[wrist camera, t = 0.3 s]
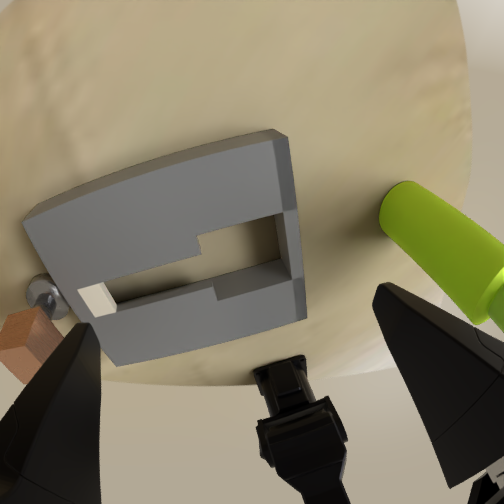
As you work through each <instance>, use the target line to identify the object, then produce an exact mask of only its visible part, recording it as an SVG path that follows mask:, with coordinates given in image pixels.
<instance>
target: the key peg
mask: <svg viewBox="0 0 504 504" xmlns="http://www.w3.org/2000/svg"><path fill="white" fill-rule="evenodd" d="M26 298H27V301H28V303H29V305H30V307H31V308H32V309H28V310H25V311H21V312H18V313H14V314H11V315H8V316H7V319H6V321H5V323H4V325H3V328H2V330H1V332H0V361H1V362H2V363H3V364H4V365H5V366H6V367H7V368H8V369H9V370H10V371H11V372H12V373H13V374H14V375H15V376H16V377H17V378H18V379H19V380H20V381H21V382H22V383H23V384H28V383H29V381H30V380H31V379H32V377H33V376H34V375H35V373H36V372H37V371H38V370H39V368H40V367H41V366H42V365H43V363H44V362H45V361H46V360H47V358H48V357H49V356H50V355H51V353H52V352H53V351H54V350H55V348H56V347H57V346H58V345H59V344H60V342H61V341H62V340H63V339H64V337H63V336H62V335H61V333H60V332H59V331H58V330H57V328H56V327H55V326H54V324H53V323H52V322H51V320H59V319H62V318H64V317H65V316H66V315H67V313H68V310H69V307H70V305H69V304H68V302H67V301H66V299H65V298H64V296H63V294H62V293H61V291H60V290H59V288H58V287H57V285H56V284H55V282H54V280H53V279H52V277H51V275H50V274H39V275H37V276H35V277H34V278H33V279H32V281H31V283H30V285H29V287H28V289H27V292H26Z"/></svg>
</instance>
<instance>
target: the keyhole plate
mask: <svg viewBox="0 0 504 504" xmlns="http://www.w3.org/2000/svg"><path fill="white" fill-rule="evenodd" d="M270 215H274V217H275V223H276V230H277V236H278V243H279V249H280V256H281V259H278V260H274V261H271V262H267V263H264V264H260V265H257V266H253V267H249V268H246V269H242V270H239V271H235V272H232V273H228V274H224V275H221V276H217V277H214V278H210V279H206V280H203V281H199V282H195V283H192V284H188V285H184V286H181V287H177V288H173V289H170V290H166V291H162V292H158V293H155V294H151V295H147V296H144V297H140V298H136V299H132V300H128V301H125V302H121V303H117V304H116V303H115V301H114V300H113V298H112V296H111V294H110V293H109V291H108V289H107V288H106V286H105V284H104V282H105V281H109V280H112V279H116V278H119V277H123V276H126V275H130V274H133V273H137V272H140V271H144V270H147V269H151V268H154V267H158V266H161V265H165V264H168V263H172V262H175V261H179V260H183V259H186V258H190V257H193V256H197V255H200V254H201V248H200V245H199V242H198V239H197V235H200V234H204V233H207V232H211V231H214V230H218V229H222V228H225V227H229V226H233V225H236V224H240V223H244V222H247V221H251V220H255V219H259V218H263V217H266V216H270ZM22 224H23V226H24V228H25V230H26V232H27V234H28V236H29V238H30V240H31V242H32V244H33V246H34V248H35V249H36V251H37V253H38V255H39V257H40V258H41V260H42V262H43V264H44V265H45V267H46V269H47V270H48V272H49V274H50V275H51V277H52V279H53V280H54V282H55V284H56V285H57V287H58V288H59V290H60V291H61V293H62V294H63V296H64V298H65V299H66V301H67V302H68V304H69V305H70V306H71V308H72V309H73V311H74V312H75V314H76V315H77V317H78V318H79V319H80V321H81V322H89V323H90V324H91V325H92V327H93V329H94V331H95V333H96V335H97V337H98V340H99V342H100V347H101V349H102V350H103V351H104V352H105V354H106V355H107V356H108V357H109V359H110V360H111V361H112V362H113V363H114V365H115V366H116V367H118V366H123V365H129V364H134V363H139V362H144V361H148V360H153V359H158V358H162V357H167V356H171V355H176V354H180V353H184V352H189V351H193V350H197V349H201V348H205V347H209V346H213V345H217V344H221V343H224V342H228V341H232V340H236V339H239V338H243V337H246V336H250V335H253V334H257V333H260V332H264V331H267V330H271V329H274V328H277V327H281V326H284V325H287V324H290V323H293V322H297V321H300V320H303V319H306V318H307V306H306V293H305V281H304V270H303V259H302V249H301V239H300V229H299V220H298V211H297V203H296V194H295V186H294V178H293V171H292V163H291V156H290V149H289V141H288V137H287V136H285V135H284V134H282V133H280V132H278V131H277V130H275V129H271V130H266V131H261V132H256V133H251V134H247V135H242V136H238V137H233V138H229V139H225V140H221V141H217V142H213V143H209V144H205V145H201V146H198V147H194V148H190V149H187V150H183V151H180V152H176V153H173V154H169V155H166V156H163V157H160V158H156V159H153V160H150V161H147V162H144V163H141V164H138V165H135V166H132V167H129V168H126V169H123V170H120V171H118V172H115V173H112V174H109V175H107V176H104V177H101V178H99V179H96V180H93V181H91V182H88V183H86V184H83V185H81V186H78V187H76V188H73V189H71V190H69V191H66V192H64V193H62V194H59V195H57V196H55V197H52V198H50V199H48V200H46V201H43V202H41V203H39V204H37V205H36V206H35V207H34V209H33V210H32V211H31V212H30V213H29V214H28V215H27V216H26V218H25V219H24V220H23V221H22Z"/></svg>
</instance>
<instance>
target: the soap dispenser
mask: <svg viewBox="0 0 504 504" xmlns="http://www.w3.org/2000/svg"><path fill="white" fill-rule="evenodd" d="M379 223H380V226H381V228H382V230H383V231H384V232H385V233H386V234H387V235H388V236H389V237H390V238H391V239H392V240H393V241H394V242H395V243H396V244H398V245H399V246H400V247H401V248H402V249H403V250H404V251H405V252H406V253H407V254H408V255H409V256H410V257H411V258H412V259H413V260H414V261H415V262H416V263H417V264H418V265H419V266H420V267H421V268H422V269H423V270H424V271H425V272H426V273H427V274H428V275H429V276H430V277H431V278H432V279H433V280H434V281H435V282H436V283H437V284H438V285H439V287H440V288H441V289H442V290H443V291H444V292H445V293H446V294H447V295H448V296H449V297H450V298H451V299H452V300H453V302H454V303H456V305H457V306H458V307H459V308H460V309H461V310H462V312H463V313H464V314H465V315H466V316H467V317H468V318H469V320H470V321H471V322H472V323H473V324H475V325H479V324H481V323H483V322H485V321H487V320H488V319H489V318H491V319H492V320H493V321H494V322H495V323H496V324H497V326H498V327H499V328H500V329H501V330H502V331H503V333H504V244H502V243H501V242H500V241H499V240H497V239H496V238H495V237H493V236H492V235H491V234H490V233H488V232H487V231H486V230H484V229H483V228H482V227H480V226H479V225H478V224H477V223H475V222H474V221H473V220H471V219H470V218H468V217H467V216H466V215H464V214H463V213H461V212H460V211H459V210H457V209H456V208H454V207H453V206H451V205H450V204H448V203H447V202H445V201H444V200H442V199H441V198H439V197H438V196H436V195H435V194H433V193H432V192H430V191H428V190H427V189H425V188H424V187H422V186H421V185H419V184H417V183H415V182H412V181H405V182H402V183H400V184H398V185H396V186H395V187H393V188H392V189H391V190H390V191H389V193H388V194H387V195H386V197H385V198H384V200H383V202H382V205H381V208H380V212H379Z"/></svg>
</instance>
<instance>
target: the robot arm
mask: <svg viewBox="0 0 504 504" xmlns="http://www.w3.org/2000/svg"><path fill="white" fill-rule="evenodd" d="M372 307H373V311H374V313H375V316H376V318H377V321H378V323H379V326H380V328H381V331H382V334H383V336H384V339H385V341H386V344H387V346H388V348H389V350H390V352H391V354H392V356H393V359H394V361H395V363H396V365H397V367H398V369H399V371H400V373H401V375H402V377H403V379H404V381H405V383H406V385H407V388H408V390H409V392H410V394H411V396H412V399H413V401H414V403H415V405H416V407H417V410H418V412H419V414H420V416H421V419H422V421H423V423H424V426H425V428H426V430H427V433H428V435H429V437H430V440H431V442H432V445H433V448H434V450H435V453H436V455H437V458H438V461H439V463H440V466H441V468H442V471H443V474H444V477H445V479H446V482H447V485H448V487H449V488H450V489H451V488H452V487H454V486H456V485H458V484H460V483H462V482H464V481H465V480H467V479H469V478H470V477H472V476H474V475H475V474H477V473H479V472H480V471H482V470H484V469H486V472H485V473H484V474H483V475H482V476H480V477H479V478H478V479H477V480H476V481H474V482H473V485H472V489H471V493H470V497H469V500H468V504H504V342H502V341H500V340H498V339H496V338H494V337H492V336H490V335H488V334H486V333H485V332H483V331H481V330H479V329H477V328H476V327H473V326H472V325H470V324H468V323H466V322H465V321H463V320H461V319H459V318H457V317H455V316H453V315H452V314H450V313H448V312H446V311H444V310H442V309H441V308H439V307H437V306H435V305H433V304H431V303H429V302H427V301H426V300H424V299H422V298H420V297H418V296H416V295H414V294H412V293H410V292H408V291H406V290H405V289H403V288H401V287H399V286H397V285H395V284H393V283H391V282H387V283H382V284H379V285H378V287H377V290H376V293H375V296H374V299H373V302H372ZM253 374H254V377H255V380H256V382H257V385H258V388H259V391H260V394H261V395H262V396H264V398H265V401H266V404H267V407H268V411H269V414H270V417H269V418H266V419H263V420H262V419H260V420H258V421H257V422H258V426H257V427H256V430H257V434H258V438H259V449H260V456H261V458H263V459H265V460H266V461H267V463H269V465H270V467H271V468H273V467H275V469H276V472H277V474H278V476H279V477H281V478H282V479H283V480H284V481H286V482H287V483H288V484H289V485H291V486H292V487H293V488H294V489H296V490H297V491H299V492H300V493H301V495H302V498H303V500H304V503H305V504H351V503H350V501H349V498H348V496H347V493H346V491H345V488H344V486H343V483H342V478H343V473H344V469H345V464H346V454H347V450H346V447H345V445H344V443H345V442H347V441H348V438H347V434H346V431H345V429H344V426H343V424H342V421H341V419H340V417H339V415H338V414H337V411H336V410H335V408H334V406H333V404H332V402H331V400H330V398H329V396H325V397H324V398H322V399H320V400H317V401H316V399H315V396H314V394H313V392H312V389H311V387H310V385H309V382H308V380H307V366H306V358H305V356H304V355H301V356H298V357H294V358H291V359H288V360H285V361H282V362H278V363H275V364H272V365H268V366H265V367H262V368H258V369H255V370H254V371H253ZM100 407H101V358H100V342H99V340H98V337H97V335H96V333H95V331H94V329H93V327H92V325H91V324H90V323H89V322H82V323H77V324H76V325H75V326H74V327H73V328H72V329H71V331H70V332H69V333H68V334H67V335H66V336H65V338H64V339H63V340H62V341H61V342H60V344H59V345H58V346H57V347H56V348H55V350H54V351H53V352H52V353H51V355H50V356H49V357H48V358H47V360H46V361H45V362H44V363H43V365H42V366H41V367H40V368H39V370H38V371H37V372H36V373H35V375H34V376H33V377H32V379H31V380H30V381H29V383H28V384H27V385H26V387H25V388H24V389H23V391H22V392H21V393H20V395H19V396H18V397H17V399H16V400H15V401H14V404H13V405H11V407H10V408H9V410H8V411H7V413H6V414H5V416H4V417H3V418H2V419H1V421H0V504H101V489H100V464H99V435H100V433H99V432H100Z"/></svg>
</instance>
